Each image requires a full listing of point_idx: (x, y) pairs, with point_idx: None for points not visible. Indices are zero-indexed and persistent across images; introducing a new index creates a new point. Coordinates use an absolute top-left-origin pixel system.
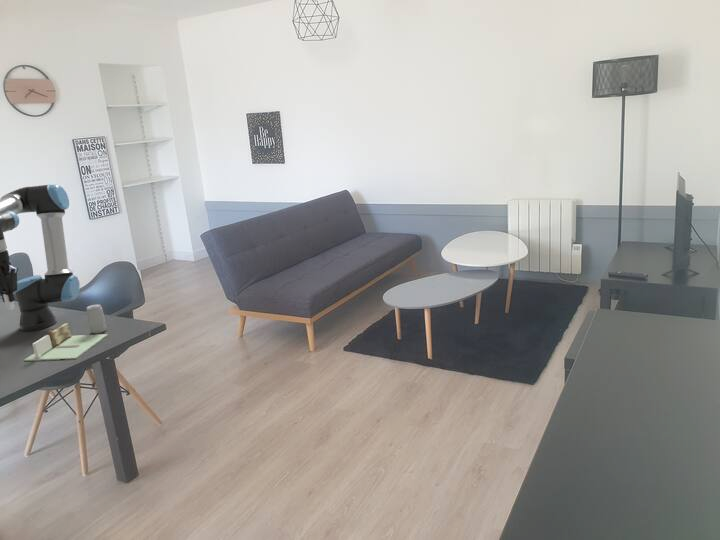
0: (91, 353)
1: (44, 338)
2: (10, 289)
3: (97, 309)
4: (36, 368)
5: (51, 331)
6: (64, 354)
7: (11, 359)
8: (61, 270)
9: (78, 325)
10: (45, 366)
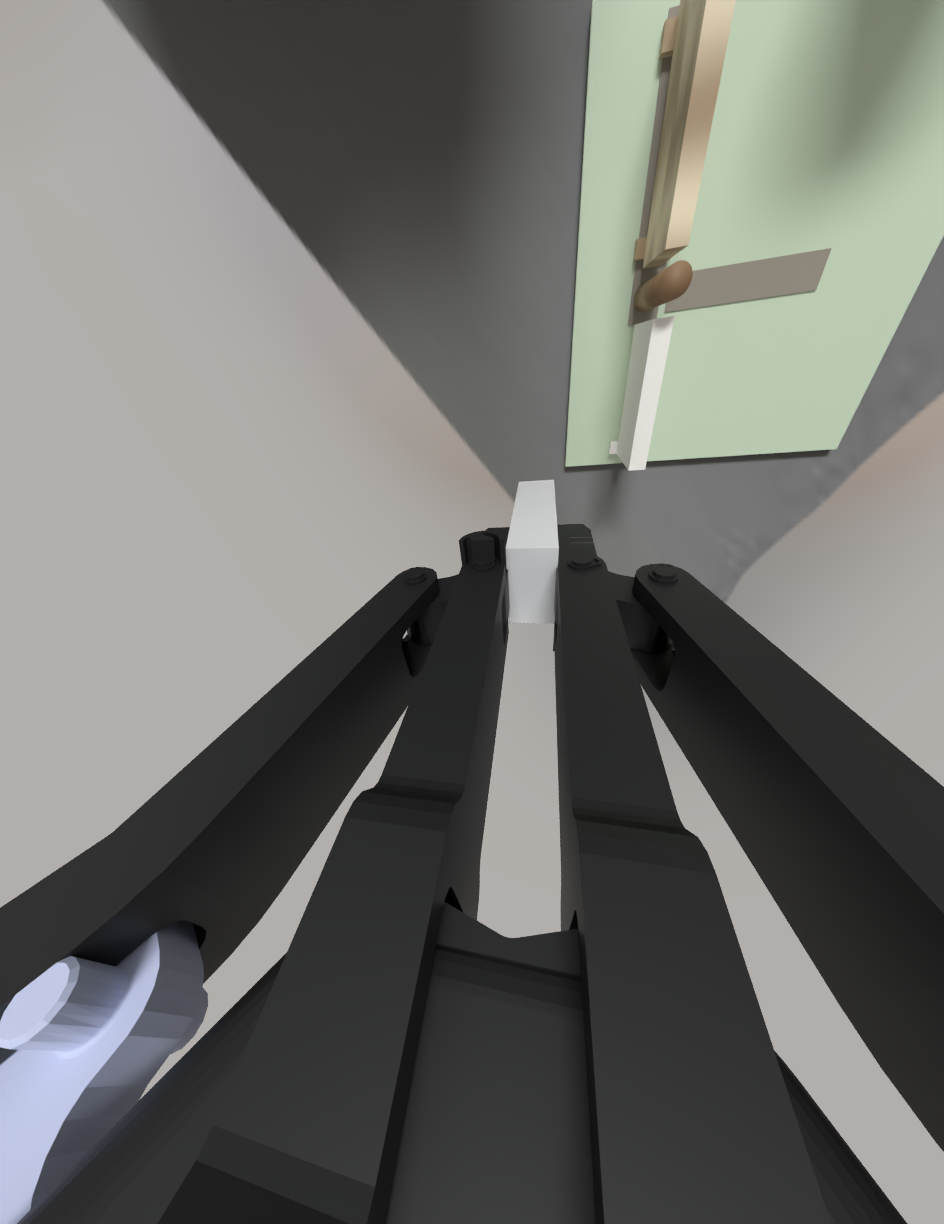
0: (920, 371)
1: (661, 378)
2: (638, 669)
3: None
4: (660, 531)
5: (689, 277)
6: (756, 408)
7: (490, 445)
8: None
9: None
10: (693, 516)
